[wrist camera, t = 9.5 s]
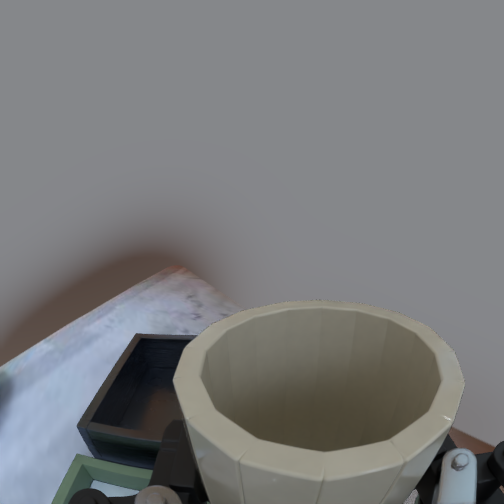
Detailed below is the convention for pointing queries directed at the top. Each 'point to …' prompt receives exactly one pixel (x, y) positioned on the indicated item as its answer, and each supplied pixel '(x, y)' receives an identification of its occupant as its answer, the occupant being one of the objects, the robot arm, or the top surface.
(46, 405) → the top surface
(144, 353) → the black tray
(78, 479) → the green divided tray
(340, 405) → the cup
